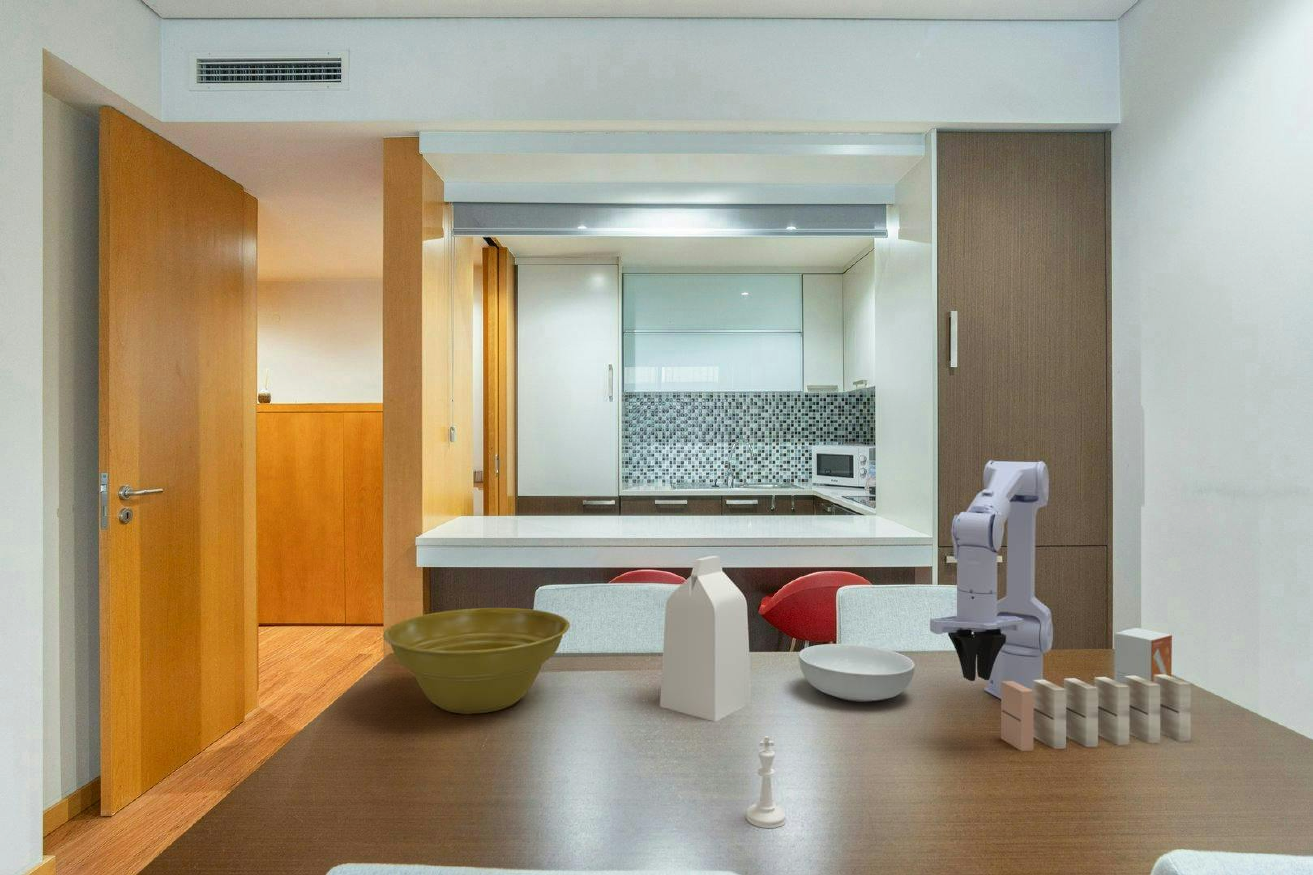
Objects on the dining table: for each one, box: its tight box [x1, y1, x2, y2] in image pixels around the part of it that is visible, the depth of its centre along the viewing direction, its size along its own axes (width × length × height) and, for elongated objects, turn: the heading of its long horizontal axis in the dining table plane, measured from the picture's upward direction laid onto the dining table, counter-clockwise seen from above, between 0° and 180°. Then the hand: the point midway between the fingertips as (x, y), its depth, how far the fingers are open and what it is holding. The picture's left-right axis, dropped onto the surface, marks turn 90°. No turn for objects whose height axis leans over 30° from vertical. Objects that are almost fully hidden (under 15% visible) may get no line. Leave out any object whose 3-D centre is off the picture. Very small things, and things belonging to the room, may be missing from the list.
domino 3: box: [1093, 676, 1130, 746], centre depth 119 cm, size 5×2×9 cm, turn 9°
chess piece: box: [745, 735, 787, 829], centre depth 92 cm, size 5×5×10 cm
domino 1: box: [1033, 679, 1067, 750], centre depth 118 cm, size 5×2×9 cm, turn 9°
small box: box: [1113, 627, 1173, 684], centre depth 135 cm, size 8×6×13 cm
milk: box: [659, 555, 752, 722], centre depth 133 cm, size 12×12×26 cm
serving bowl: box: [798, 643, 916, 703], centre depth 140 cm, size 21×21×7 cm
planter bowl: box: [383, 607, 571, 715], centre depth 134 cm, size 32×32×13 cm
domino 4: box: [1124, 676, 1161, 744], centre depth 120 cm, size 5×2×9 cm, turn 9°
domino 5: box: [1154, 674, 1192, 742], centre depth 121 cm, size 5×2×9 cm, turn 9°
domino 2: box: [1063, 677, 1099, 748], centre depth 118 cm, size 5×2×9 cm, turn 9°
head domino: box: [1000, 681, 1034, 752], centre depth 117 cm, size 5×2×9 cm, turn 10°
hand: (976, 678), depth 116 cm, fingers closed
